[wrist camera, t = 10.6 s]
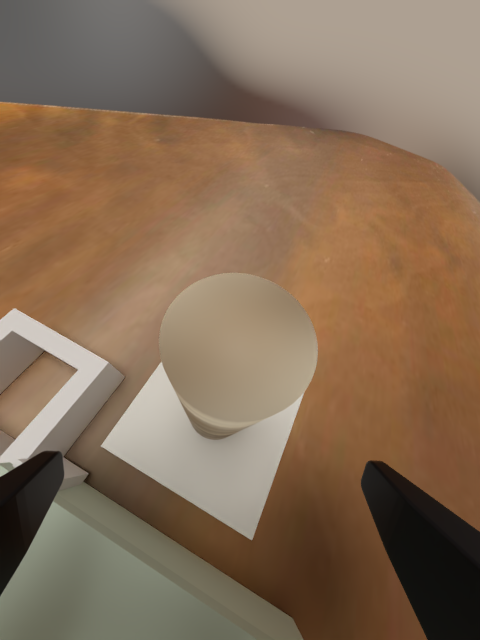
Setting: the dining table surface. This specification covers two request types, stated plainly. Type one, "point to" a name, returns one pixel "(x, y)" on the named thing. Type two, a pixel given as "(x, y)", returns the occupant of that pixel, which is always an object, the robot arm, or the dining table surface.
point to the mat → (202, 454)
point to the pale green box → (106, 534)
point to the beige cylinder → (236, 351)
